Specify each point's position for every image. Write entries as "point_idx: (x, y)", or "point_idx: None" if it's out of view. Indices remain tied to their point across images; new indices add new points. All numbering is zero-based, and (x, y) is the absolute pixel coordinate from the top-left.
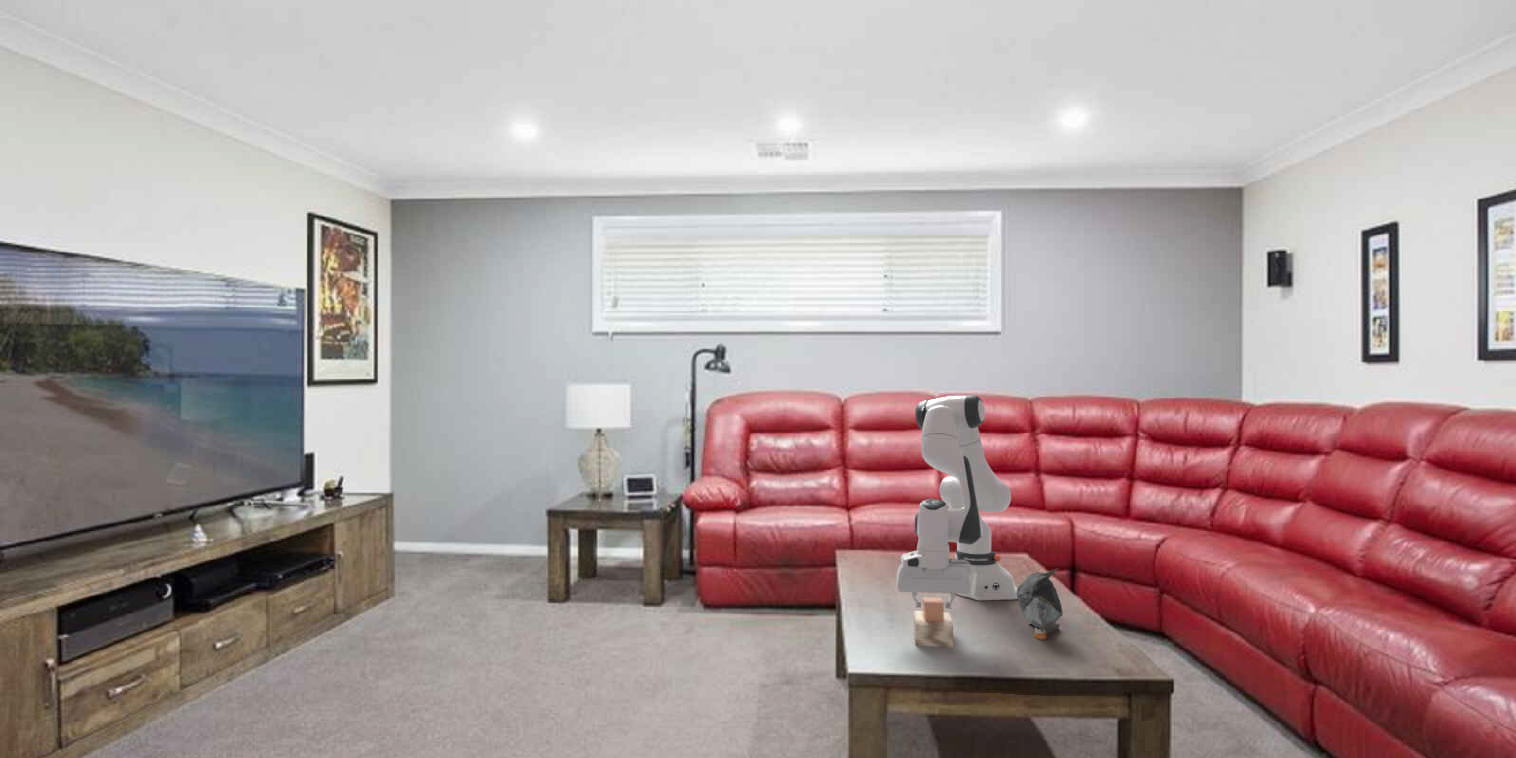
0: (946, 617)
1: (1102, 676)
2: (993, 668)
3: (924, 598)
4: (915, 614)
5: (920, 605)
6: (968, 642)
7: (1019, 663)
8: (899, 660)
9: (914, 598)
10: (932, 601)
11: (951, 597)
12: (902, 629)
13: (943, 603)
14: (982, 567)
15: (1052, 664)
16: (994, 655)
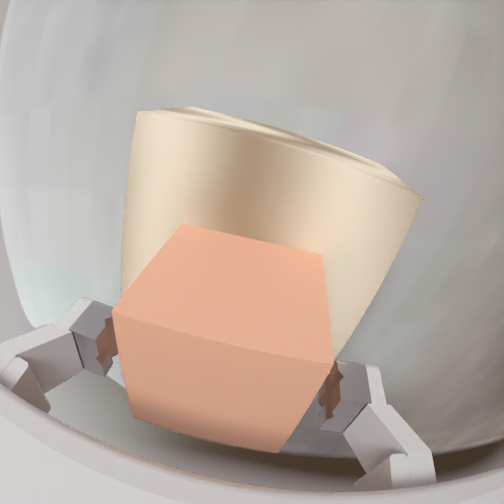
0: (341, 297)
1: (480, 441)
2: (333, 438)
3: (127, 343)
4: (132, 202)
5: (112, 356)
6: (393, 300)
7: (411, 422)
8: (111, 371)
9: (46, 381)
10: (195, 418)
11: (374, 464)
12: (136, 92)
13: (277, 451)
14: None
15: (465, 420)
16: (394, 392)
